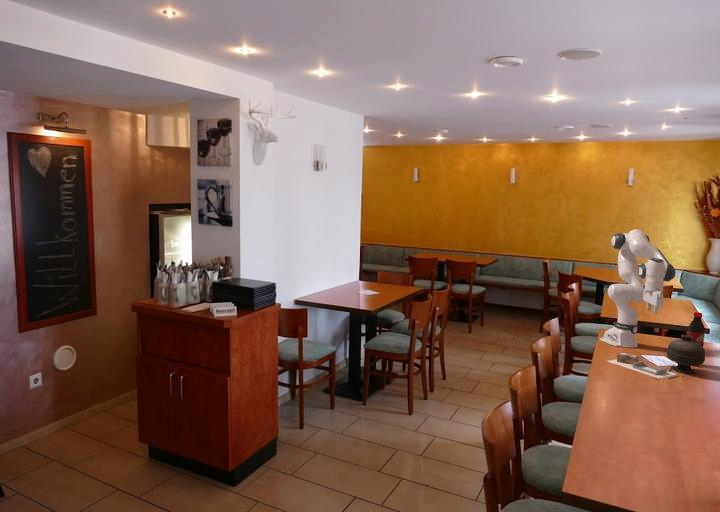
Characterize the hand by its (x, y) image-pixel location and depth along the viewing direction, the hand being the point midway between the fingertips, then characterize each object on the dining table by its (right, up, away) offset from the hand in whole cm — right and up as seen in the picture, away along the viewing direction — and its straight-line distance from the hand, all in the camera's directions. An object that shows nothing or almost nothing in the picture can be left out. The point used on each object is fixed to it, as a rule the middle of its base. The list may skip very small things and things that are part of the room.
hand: (652, 312), depth 296 cm
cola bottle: (+25, -30, +3) cm, 39 cm away
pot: (+12, -31, -9) cm, 35 cm away
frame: (-14, -28, -2) cm, 32 cm away
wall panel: (-11, -30, -9) cm, 34 cm away
